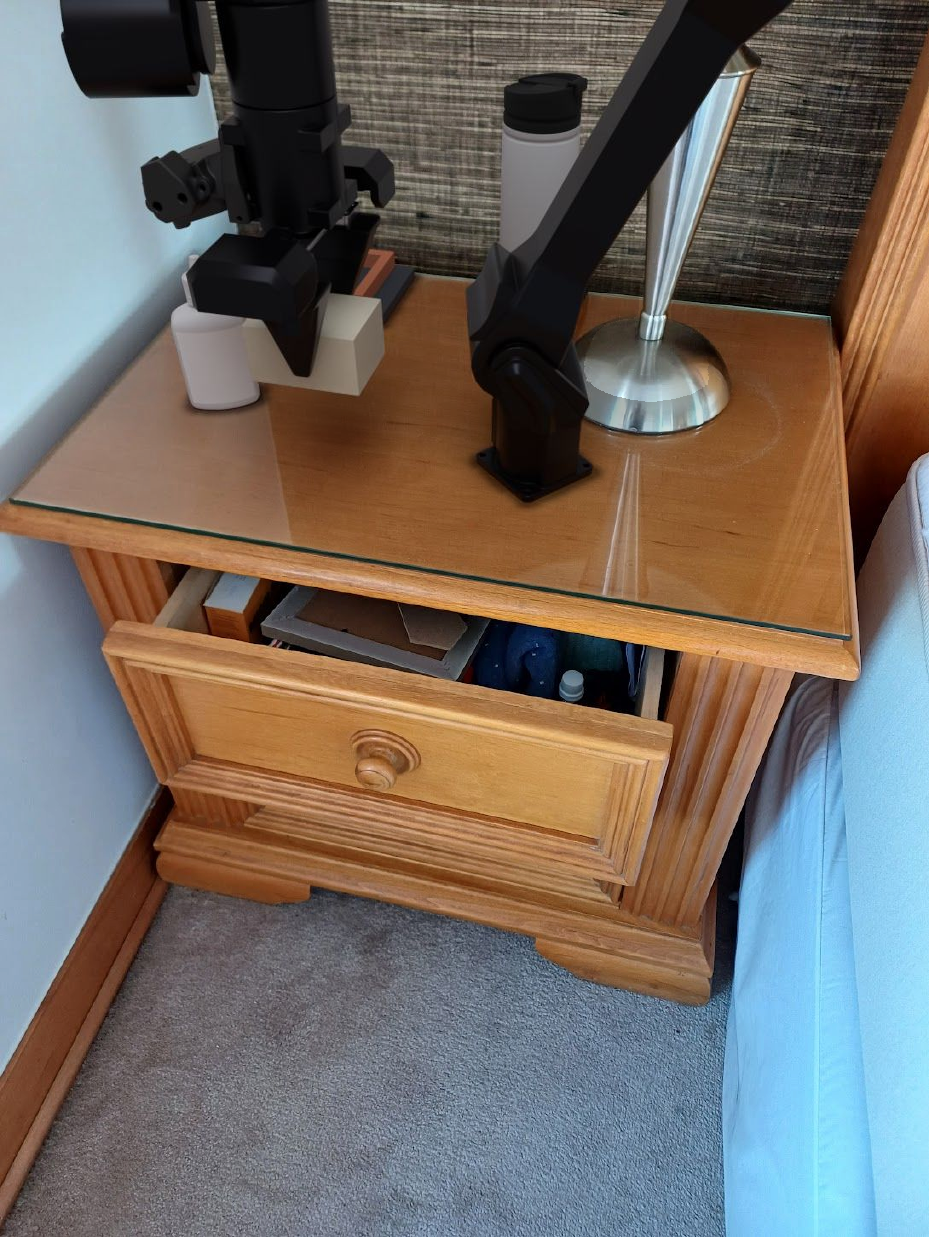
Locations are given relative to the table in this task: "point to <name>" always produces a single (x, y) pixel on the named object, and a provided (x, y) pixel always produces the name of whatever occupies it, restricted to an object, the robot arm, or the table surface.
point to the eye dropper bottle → (212, 356)
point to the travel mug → (537, 149)
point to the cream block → (325, 348)
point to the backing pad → (384, 280)
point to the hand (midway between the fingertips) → (318, 353)
